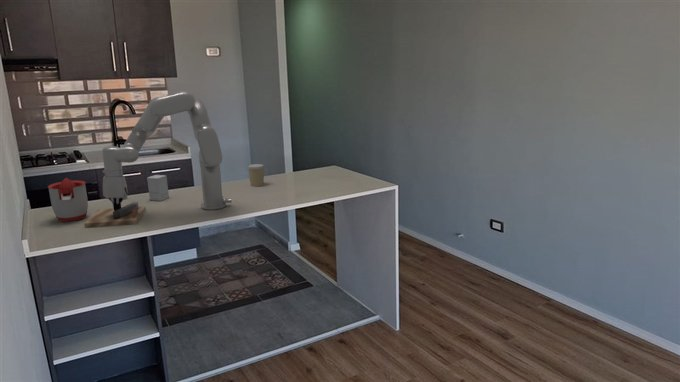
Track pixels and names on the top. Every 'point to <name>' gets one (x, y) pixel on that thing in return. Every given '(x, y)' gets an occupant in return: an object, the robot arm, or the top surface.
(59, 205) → the citrus juicer
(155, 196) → the supplement box
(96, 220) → the flat wooden plank
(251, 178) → the coffee cup
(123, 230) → the top surface
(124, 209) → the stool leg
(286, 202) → the top surface
